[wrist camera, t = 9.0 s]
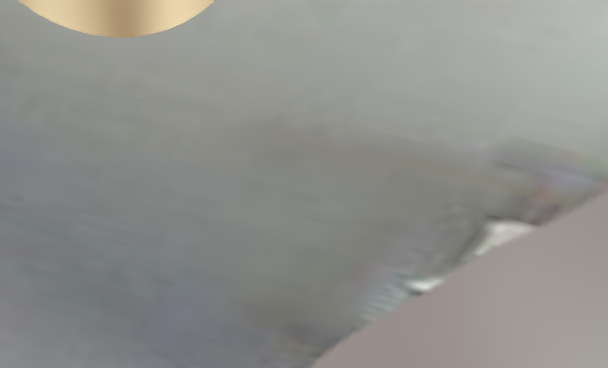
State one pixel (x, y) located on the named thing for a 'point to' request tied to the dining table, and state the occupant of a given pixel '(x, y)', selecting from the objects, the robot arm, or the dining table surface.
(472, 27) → the dining table surface
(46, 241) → the dining table surface
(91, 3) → the wooden peg stand
